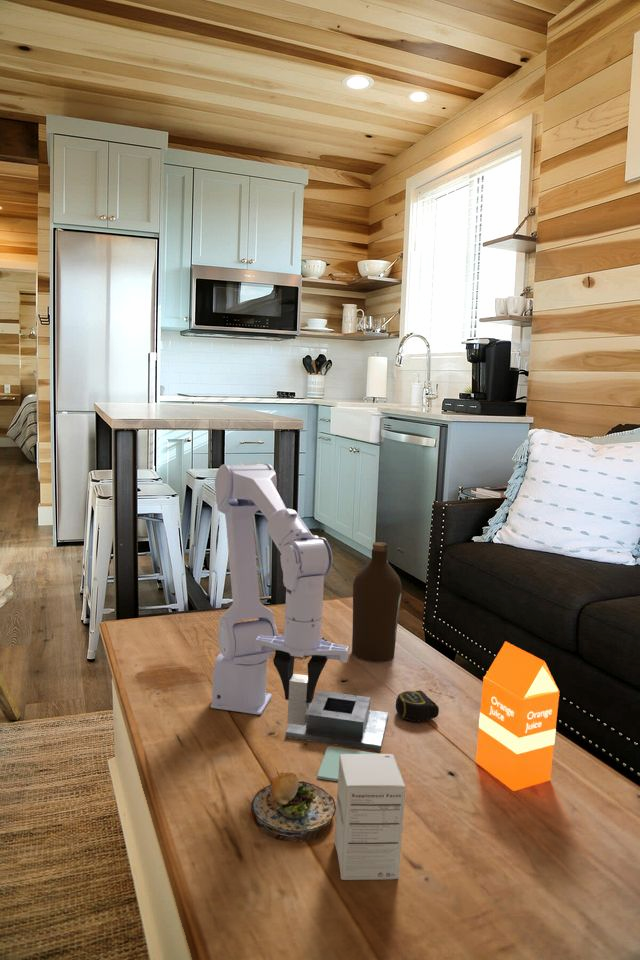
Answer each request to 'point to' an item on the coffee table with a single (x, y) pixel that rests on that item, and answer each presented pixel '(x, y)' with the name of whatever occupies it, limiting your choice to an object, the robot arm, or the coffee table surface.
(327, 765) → the mat
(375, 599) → the olive oil
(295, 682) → the light grey rectangular block
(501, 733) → the orange juice
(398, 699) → the tape measure
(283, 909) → the coffee table surface
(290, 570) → the robot arm
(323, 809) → the burger
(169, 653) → the coffee table surface
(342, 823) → the supplement box
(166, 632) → the coffee table surface
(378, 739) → the plate
